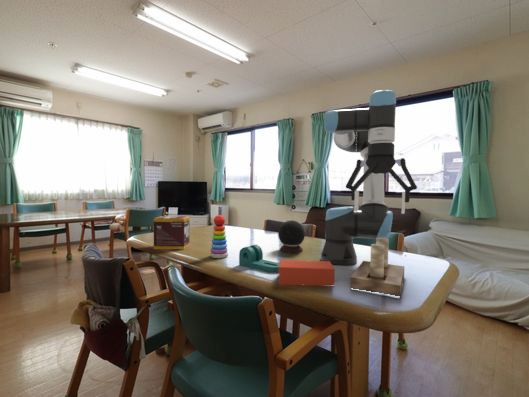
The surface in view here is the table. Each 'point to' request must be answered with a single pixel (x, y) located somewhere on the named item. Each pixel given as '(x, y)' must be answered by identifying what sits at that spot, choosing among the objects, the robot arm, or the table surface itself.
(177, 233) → the supplement box
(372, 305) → the table surface
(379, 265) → the beech leg
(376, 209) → the robot arm
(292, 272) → the brick
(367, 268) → the walnut board
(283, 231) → the black ball on stand
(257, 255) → the bracket
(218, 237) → the stacking toy
